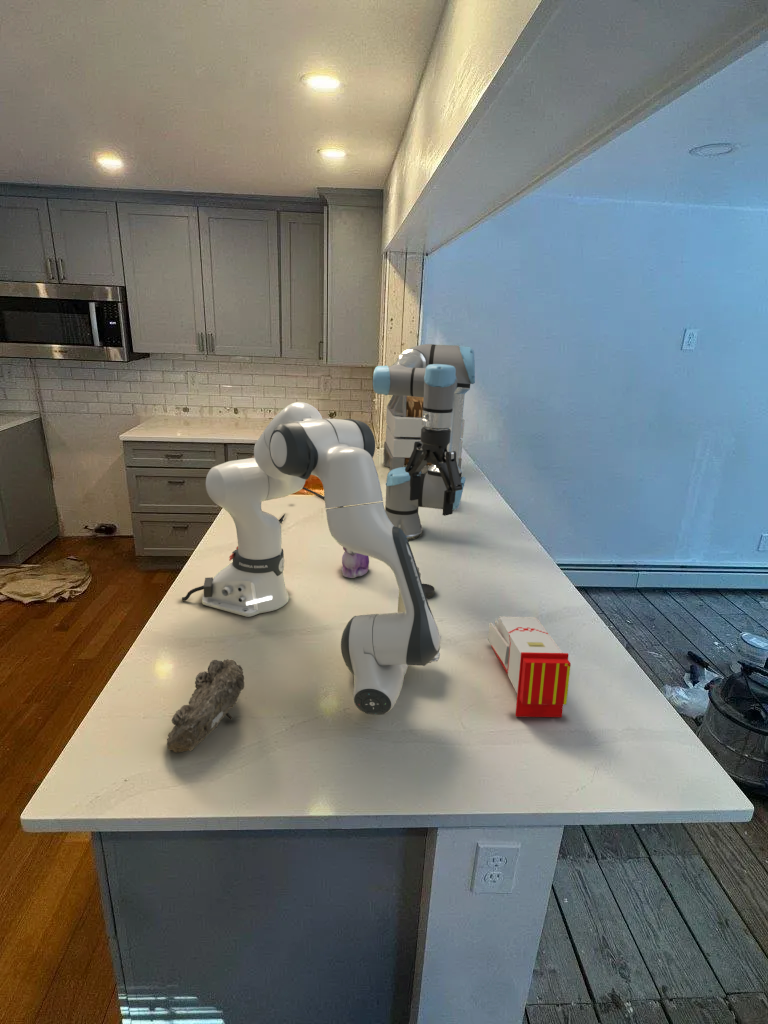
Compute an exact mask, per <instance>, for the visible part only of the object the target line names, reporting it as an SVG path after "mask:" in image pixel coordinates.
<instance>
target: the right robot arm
mask: <svg viewBox="0 0 768 1024" xmlns="http://www.w3.org/2000/svg"><path fill="white" fill-rule="evenodd" d="M475 363H476V362H475V351H474V349H473V347H471V346H466V345H465V346H464V345H455V344H454V345H453V344H432V343H425V344H424V343H423V344H418V345H415V346H412V347H409V348H407V349H405V350H403V351H402V352H401V353H400V354H399V355H398V356H397V359H396V361H395V362H393V364H391V365H387V364H385V365H377V366H376V367H375V368H374V370H373V375H372V389H373V392H374V393H375V394H378V395H384V396H393V395H398V396H413V397H424V400H423V414H422V425H423V426H424V427H423V428H422V429H421V441H417V442H415V443H414V450H413V452H412V454H411V457H410V459H409V461H408V464H407V465H405V466H404V467H400V468H396V469H393V470H391V471H390V470H389V472H388V473H387V475H386V482H385V504H384V505H385V506H384V509H385V512H386V514H387V516H388V518H389V520H390V521H391V523H392V524H393V525H394V526H395V527H398V528H400V529H402V531H403V532H404V534H405V536H406V538H407V540H408V541H410V540H415V539H418V538H420V537H421V536H422V535H423V525H422V524H421V518H420V515H419V508H428V509H438V510H442V516H443V517H446V516H450V515H453V511H456V510H457V509H459V508H460V504H461V501H462V495H463V493H464V492H463V491H464V486H465V483H466V477H465V476H463V474H462V473H463V471H462V469H461V470H460V468H459V467H458V460H459V450H460V439H461V440H462V438H461V428H462V419H464V408H465V407H464V406H465V405H464V404H465V396H466V394H467V393H468V392H469V391H470V390H471V385H474V384H475V383H476V366H475V365H476V364H475ZM422 452H423V454H422ZM427 463H432V465H430V466H428V468H427V472H426V473H424V472H422V471H423V469H424V468H425V467H427V466H426V464H427ZM301 490H304V491H306V492H309V493H311V494H313V495H315V496H317V497H319V498H321V499H323V500H325V498H324V495H321V494H320V493H318V492H316V491H313V490H312V489H309V488H307V487H306V486H305V487H304V486H303V488H302V489H301ZM342 507H344V506H342Z"/></svg>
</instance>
